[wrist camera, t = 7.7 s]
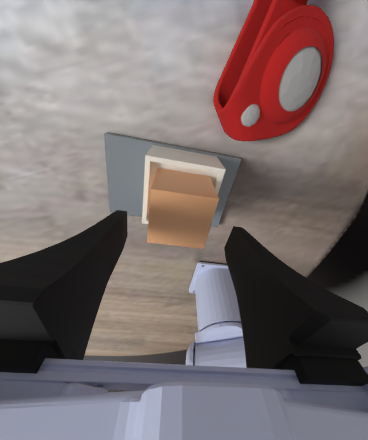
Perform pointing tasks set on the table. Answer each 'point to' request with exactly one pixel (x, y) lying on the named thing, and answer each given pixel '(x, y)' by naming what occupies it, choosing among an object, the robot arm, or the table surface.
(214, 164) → the cream base block
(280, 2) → the tracker holder
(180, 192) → the orange block
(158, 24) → the table surface
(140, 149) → the baseplate
